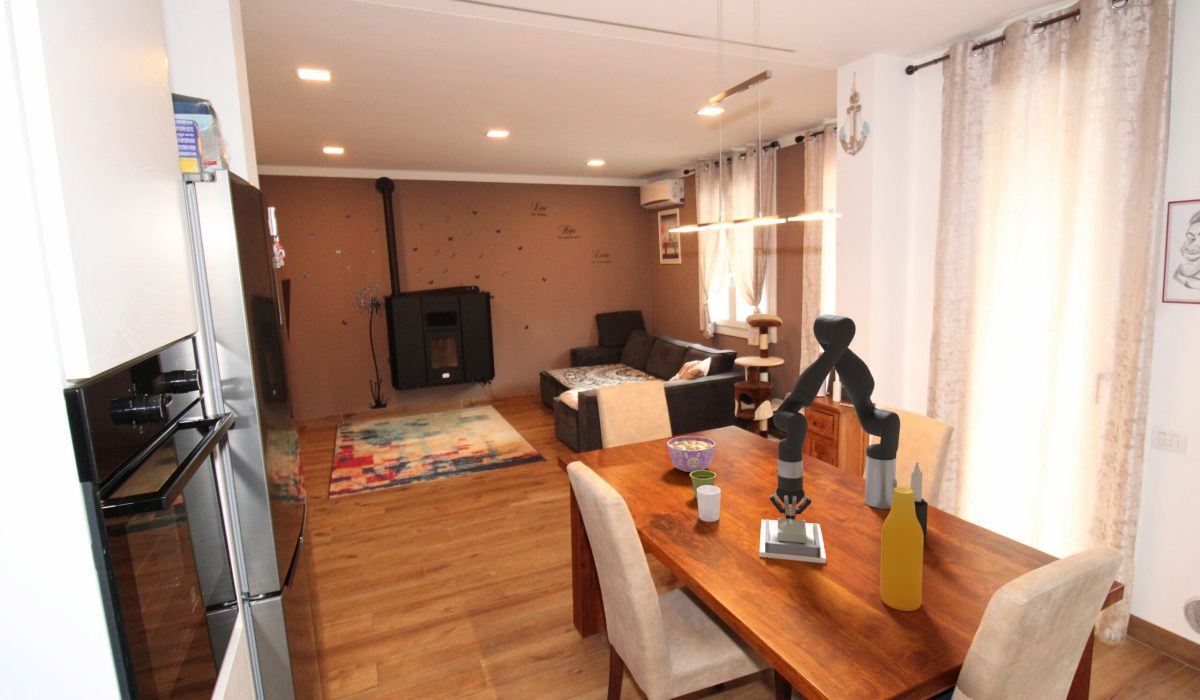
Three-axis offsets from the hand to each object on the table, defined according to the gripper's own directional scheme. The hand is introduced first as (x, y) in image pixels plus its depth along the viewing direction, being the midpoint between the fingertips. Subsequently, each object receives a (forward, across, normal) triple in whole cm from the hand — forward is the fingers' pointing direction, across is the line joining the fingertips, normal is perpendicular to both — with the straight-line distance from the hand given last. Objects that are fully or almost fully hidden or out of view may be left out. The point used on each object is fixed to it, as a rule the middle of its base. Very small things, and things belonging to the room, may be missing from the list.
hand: (790, 525), depth 178 cm
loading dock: (+2, 0, +5) cm, 5 cm away
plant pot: (+3, +30, -22) cm, 38 cm away
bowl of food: (+3, +38, -50) cm, 63 cm away
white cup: (+3, +26, -6) cm, 27 cm away
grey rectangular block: (+1, 0, +6) cm, 6 cm away
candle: (+3, -35, -1) cm, 35 cm away
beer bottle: (+2, -25, +32) cm, 41 cm away
